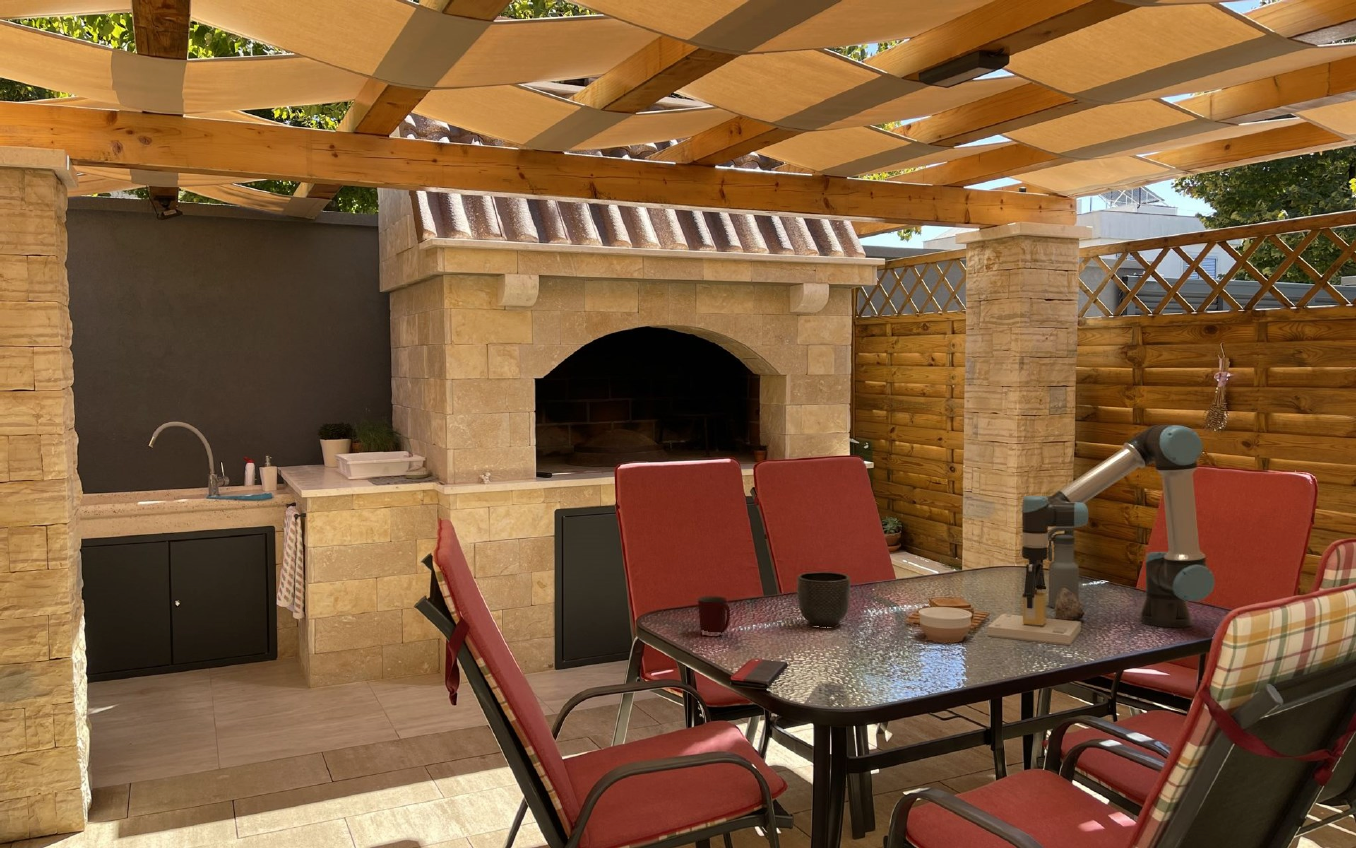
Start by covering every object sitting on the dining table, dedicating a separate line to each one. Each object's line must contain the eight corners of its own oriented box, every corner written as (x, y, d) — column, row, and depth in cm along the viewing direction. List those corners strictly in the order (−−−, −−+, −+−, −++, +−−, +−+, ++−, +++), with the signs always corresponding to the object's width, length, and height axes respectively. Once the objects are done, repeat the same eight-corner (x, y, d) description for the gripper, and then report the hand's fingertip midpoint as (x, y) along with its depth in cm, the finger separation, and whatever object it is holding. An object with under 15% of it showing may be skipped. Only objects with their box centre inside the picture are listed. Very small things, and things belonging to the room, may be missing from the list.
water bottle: (1049, 609, 352) (1049, 528, 351) (1045, 603, 362) (1046, 524, 361) (1080, 610, 350) (1080, 529, 349) (1076, 604, 359) (1076, 525, 358)
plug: (1046, 631, 319) (1046, 589, 318) (1042, 635, 315) (1043, 592, 314) (1026, 629, 322) (1026, 587, 321) (1022, 632, 318) (1022, 590, 317)
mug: (739, 636, 319) (739, 601, 318) (718, 640, 313) (718, 605, 313) (713, 629, 328) (713, 595, 328) (692, 633, 322) (692, 599, 322)
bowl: (908, 634, 319) (908, 609, 318) (951, 630, 324) (951, 605, 324) (938, 646, 304) (938, 620, 304) (983, 641, 309) (983, 615, 309)
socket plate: (1080, 631, 321) (1080, 619, 321) (1069, 645, 303) (1069, 633, 303) (1002, 623, 333) (1002, 611, 333) (987, 636, 316) (987, 624, 315)
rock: (1057, 630, 334) (1076, 610, 329) (1036, 603, 341) (1054, 583, 336) (1074, 630, 339) (1093, 610, 334) (1053, 603, 346) (1071, 583, 341)
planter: (809, 617, 344) (809, 570, 343) (858, 623, 335) (858, 574, 334) (788, 627, 329) (788, 578, 328) (838, 634, 320) (838, 583, 320)
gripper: (1030, 539, 330) (1030, 605, 330) (1013, 550, 308) (1013, 621, 309) (1054, 541, 326) (1054, 607, 327) (1039, 552, 305) (1039, 623, 305)
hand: (1034, 614), depth 318 cm, fingers open, 13 cm apart
